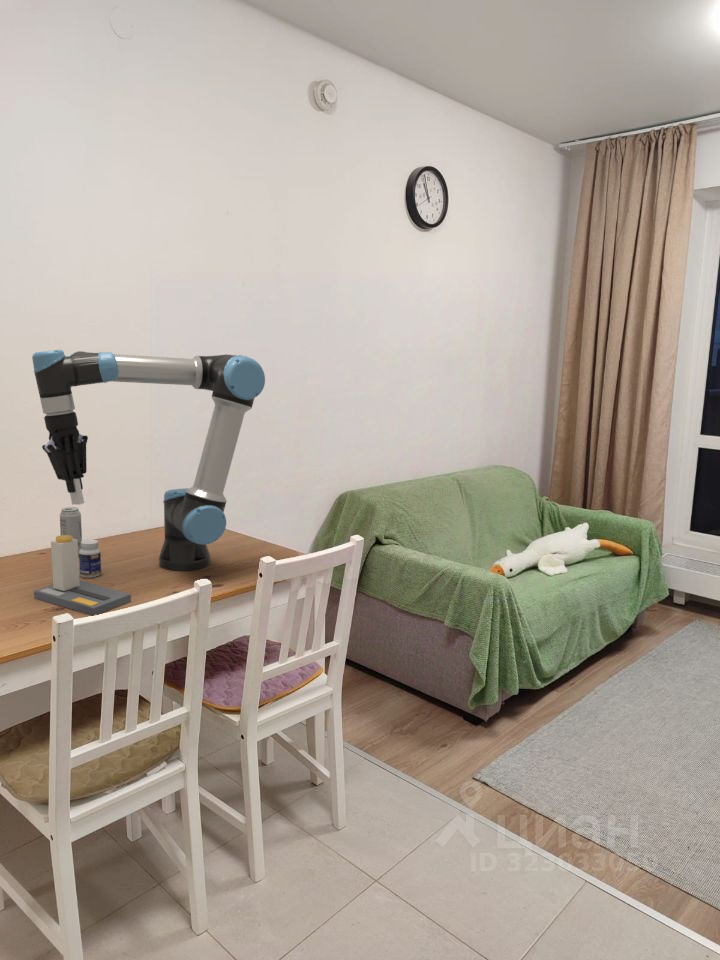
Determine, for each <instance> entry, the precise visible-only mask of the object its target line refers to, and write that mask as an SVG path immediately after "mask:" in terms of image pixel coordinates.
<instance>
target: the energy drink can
mask: <svg viewBox="0 0 720 960" xmlns="http://www.w3.org/2000/svg"><path fill="white" fill-rule="evenodd" d="M59 527H60V529H59V531H60V535H71V536H73V539H76V540H78V558H79V551H80V550H81V549H82V547H81V541H83V533H82V532H83V530H82V513H81V511H80V509H79V507H75V506H68V507H64V508H61V512H60V514H59Z"/></svg>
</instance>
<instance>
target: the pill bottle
mask: <svg viewBox="0 0 720 960" xmlns="http://www.w3.org/2000/svg"><path fill="white" fill-rule="evenodd" d="M98 546H99V540H97V539H84V540H82V541H81V547H82V549H81V550H80V551H79V557H78V561H79V577H82V578H88V579H90V578H97V577H99V576H100V575H101V574H102V565H101V564H102V560H101V558H102V555H101V554H102V553H101V548H99V547H98Z"/></svg>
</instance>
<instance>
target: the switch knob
mask: <svg viewBox="0 0 720 960" xmlns="http://www.w3.org/2000/svg"><path fill="white" fill-rule="evenodd" d="M50 546H51V547H50V549H51V568H52V569H51V570H52V585H53V588H54V589H58V590H61V591H66V590H69V589H72V588H74V587H77V586H80V584H79V580H80V563H79V557H78V540H76V539H73V536H71V535H61V534H60V535H57V536H55V540H51V541H50Z"/></svg>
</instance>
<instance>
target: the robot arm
mask: <svg viewBox="0 0 720 960" xmlns="http://www.w3.org/2000/svg"><path fill="white" fill-rule="evenodd" d="M31 359H32V365H33V373H34V376H35V382H36V385H37V390H38V394H39V398H40V399H39V400H40V404H41V409H42V413H43V414H45V416H44V417H43V419H44V423H45V428H46V430H47V431H48V434H49V435H48V442H47V443H46V444H43V445H42V446H41V448H42V450H43V451H44V452H45V453H46V454H47V457H48V460H49V462H50V464H51V466H52V469H53V470H54V473H55V476H56V477H57V479H58V480H62V481H64V482H65V484H66V485H65V486H66V490H67V492H68V493H69V495H70V500H71V504H72V505H82V504H84V503H85V500H84V495H83V487H84V486H83V482H82V479H83V478H84V477H85V474H87V443H88V440H89V437H88V435H82V434H81V433H80V430H79V429H78V426H79V421H78V417H77V413H76V411H74V410H75V409H76V405H75V403H74V397H73V392H72V387H78V386H80V387H81V386H88V385H93V384H103V383H104V384H107V383H109V382H110V383H111V382H113V383H114V382H116V383H137V384H155V385H156V384H157V385H180V386H192V388H193V389H195V390H206V391H211V392H212V394H211V399H212V401H213V402H214V408H213V412H212V415H211V419H210V421H209V422H210V423H209V426H208V429H207V434H206V437H205V440H204V445H203V447H202V448H203V449H202V453H201V456H200V459H199V463H198V467H197V471H196V475H195V478H194V482H193V485H192V486H191V487H189V488H188V487H187V488H176V489H175V488H174V489H168V490H166V491H165V492H164V494H163V498H164V499H163V501H162V502H163V513H164V514H163V517H164V519H163V520H164V521H163V522H164V523H163V524H164V540H163V544H162V546H161V550H160V553H159V557H158V560H159V562H158V565H159V566H160V568H162V569H165V570H171V571H193V570H198V569H202V568H205V567H207V566H209V565H210V564H211V554H210V551H209V548H208V546H207V545H209V544H213V543H215V542H216V541H218V540H219V539H220V538H221V537H222V536H223V534H225V530H226V527H227V518H226V514H225V513H224V512H225V510H226V509H225V508H226V504H227V502H228V501H227V498H226V497H225V495H224V491H225V488H226V484H227V481H228V476H229V473H230V468H231V465H232V462H233V458H234V454H235V450H236V448H237V447H236V446H237V443H238V439H239V435H240V432H241V429H242V428H241V427H242V426H243V425H242V424H243V421H244V417H245V414H246V413H247V412H248V411H251V409H252V408H253V405H254V401H255V399H256V397H258V396H259V395H260V394H261V393H262V392H263V390H264V388H265V383H266V375H265V372H264V369H263V367H262V366H261V364H259V362H257V361H256V360H255V359H253V358H251V357H250V356H249V357H248V356H247V355H246V356H245V355H241V354H240V355H235V354H220V355H219V354H218V355H195V356H193V358H183V357H168V356H167V357H164V356H148V355H137V354H136V355H135V354H134V355H133V354H117V353H113V352H111V351H105V352H104V351H103V352H102V351H100V352H88V351H79V350H77V351H76V352H73V353H71V354H70V355H69V356H68V355H67V356H66V354H65V352H64V350H62V349H55V350H46V351H45V350H43V351H36V352H34V353H33V354H32V358H31Z"/></svg>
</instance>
